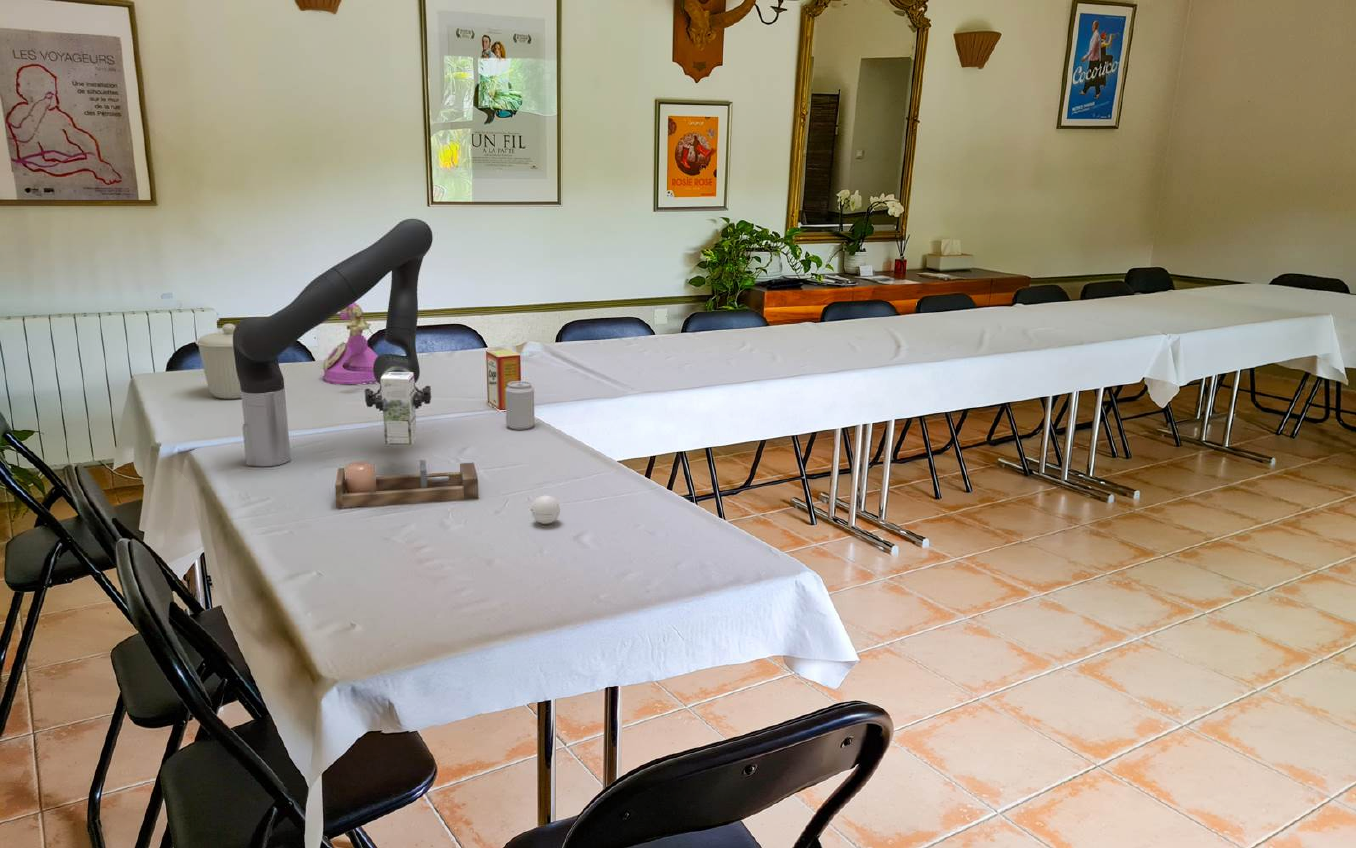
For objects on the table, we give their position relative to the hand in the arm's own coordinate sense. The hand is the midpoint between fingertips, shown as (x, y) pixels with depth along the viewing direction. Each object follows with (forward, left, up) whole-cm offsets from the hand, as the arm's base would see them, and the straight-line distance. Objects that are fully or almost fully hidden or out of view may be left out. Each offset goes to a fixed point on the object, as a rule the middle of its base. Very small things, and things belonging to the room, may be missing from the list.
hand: (398, 405), depth 199 cm
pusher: (+6, +1, -19) cm, 21 cm away
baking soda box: (+28, +71, -20) cm, 79 cm away
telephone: (-12, +111, -20) cm, 113 cm away
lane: (0, +1, -20) cm, 20 cm away
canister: (-47, +99, -20) cm, 111 cm away
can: (+30, +49, -20) cm, 61 cm away
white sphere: (+26, -22, -20) cm, 40 cm away
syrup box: (0, +2, -9) cm, 9 cm away
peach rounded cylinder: (-8, +1, -20) cm, 22 cm away
